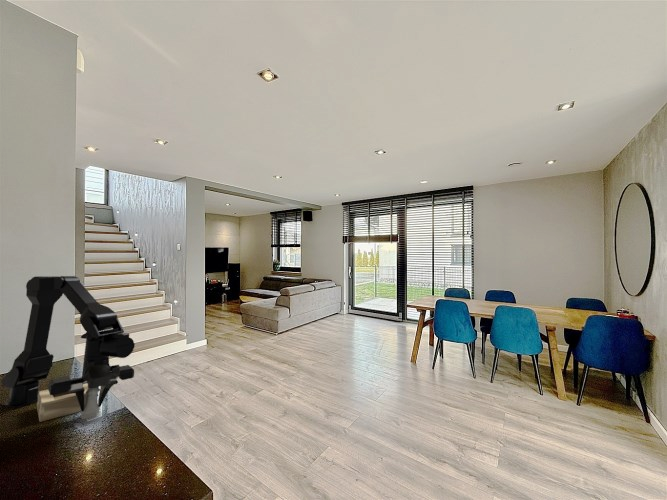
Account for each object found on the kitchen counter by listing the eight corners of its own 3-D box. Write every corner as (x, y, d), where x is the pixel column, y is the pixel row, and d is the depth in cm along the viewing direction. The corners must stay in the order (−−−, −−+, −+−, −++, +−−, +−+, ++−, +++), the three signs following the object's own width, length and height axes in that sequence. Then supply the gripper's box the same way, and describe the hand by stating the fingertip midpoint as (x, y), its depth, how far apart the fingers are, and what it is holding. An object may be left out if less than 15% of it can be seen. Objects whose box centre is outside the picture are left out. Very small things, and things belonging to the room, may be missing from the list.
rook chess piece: (88, 420, 79) (91, 391, 80) (75, 418, 80) (79, 389, 81) (103, 413, 83) (106, 385, 84) (92, 411, 84) (95, 383, 85)
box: (36, 408, 85) (38, 391, 85) (84, 397, 93) (86, 381, 93) (39, 421, 77) (42, 403, 78) (91, 408, 86) (93, 391, 86)
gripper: (56, 368, 71) (48, 432, 70) (142, 354, 85) (136, 407, 84) (51, 358, 78) (44, 416, 77) (131, 346, 92) (126, 395, 91)
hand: (90, 408), depth 82 cm, fingers closed on rook chess piece, 3 cm apart
